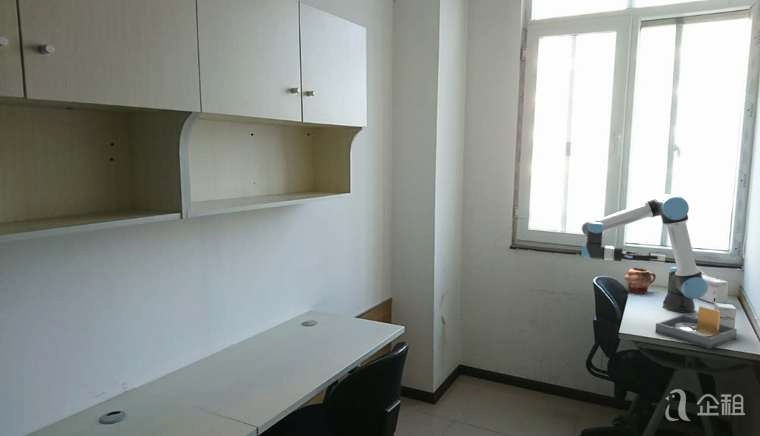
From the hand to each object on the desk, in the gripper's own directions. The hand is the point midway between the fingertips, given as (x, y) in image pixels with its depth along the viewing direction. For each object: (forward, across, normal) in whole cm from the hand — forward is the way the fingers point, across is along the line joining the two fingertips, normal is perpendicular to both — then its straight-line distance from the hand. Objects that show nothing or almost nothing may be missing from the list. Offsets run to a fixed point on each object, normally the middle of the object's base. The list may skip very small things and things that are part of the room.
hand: (665, 258), depth 257 cm
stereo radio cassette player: (+25, -54, -32) cm, 68 cm away
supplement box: (+26, +5, -32) cm, 42 cm away
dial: (+14, +18, -30) cm, 38 cm away
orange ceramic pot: (-10, -54, -32) cm, 64 cm away
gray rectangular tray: (+14, +18, -32) cm, 39 cm away
